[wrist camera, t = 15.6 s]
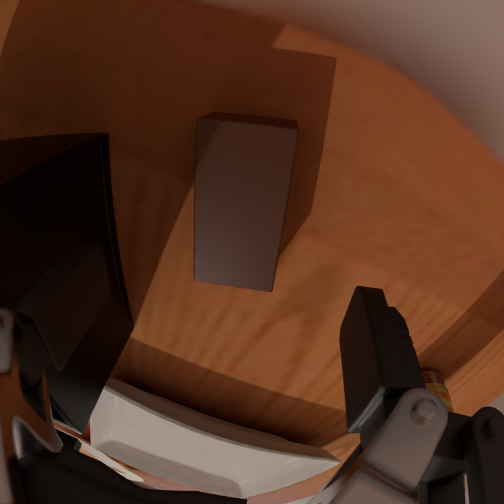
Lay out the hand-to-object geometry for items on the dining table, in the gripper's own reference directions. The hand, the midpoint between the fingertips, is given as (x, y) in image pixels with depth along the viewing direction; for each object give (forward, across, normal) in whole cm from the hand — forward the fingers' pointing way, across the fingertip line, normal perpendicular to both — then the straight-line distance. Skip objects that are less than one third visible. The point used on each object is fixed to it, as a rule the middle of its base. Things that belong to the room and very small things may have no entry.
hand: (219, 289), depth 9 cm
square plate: (+8, +4, +34) cm, 35 cm away
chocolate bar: (+7, 0, 0) cm, 7 cm away
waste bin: (+7, +14, +4) cm, 17 cm away
